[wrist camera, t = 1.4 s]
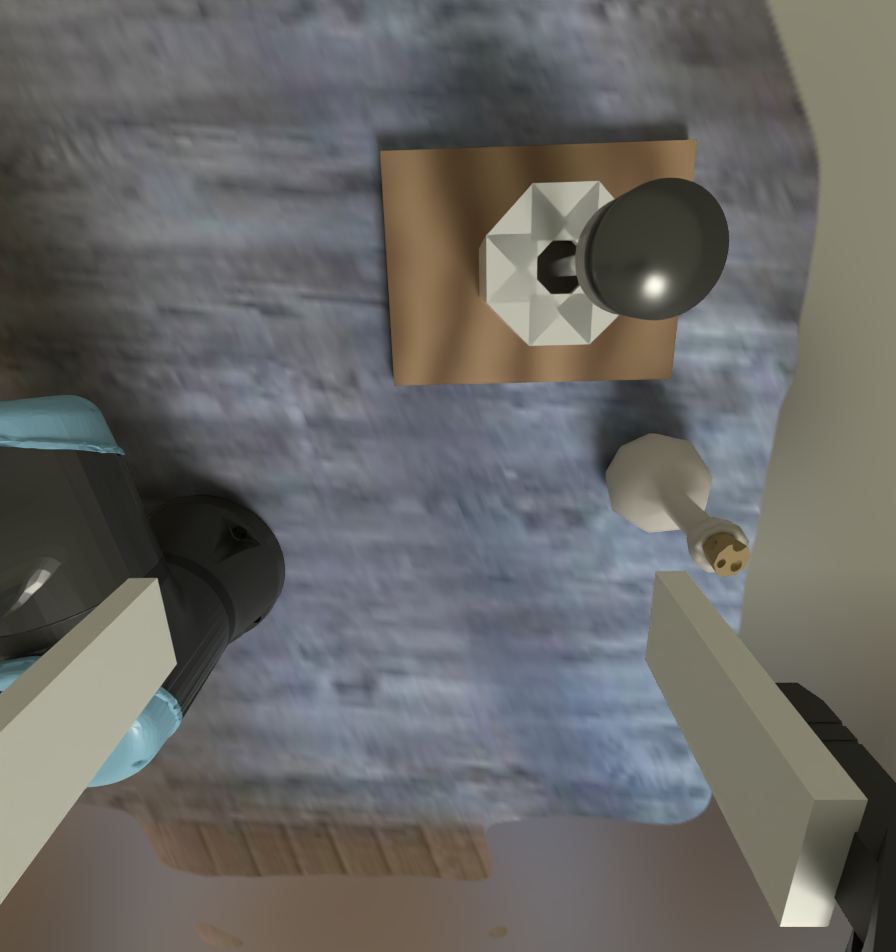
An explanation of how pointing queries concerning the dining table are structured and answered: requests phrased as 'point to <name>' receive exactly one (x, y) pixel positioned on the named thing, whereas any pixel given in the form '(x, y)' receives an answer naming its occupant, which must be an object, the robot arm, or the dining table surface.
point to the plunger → (650, 250)
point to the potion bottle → (674, 499)
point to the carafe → (542, 265)
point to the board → (457, 262)
